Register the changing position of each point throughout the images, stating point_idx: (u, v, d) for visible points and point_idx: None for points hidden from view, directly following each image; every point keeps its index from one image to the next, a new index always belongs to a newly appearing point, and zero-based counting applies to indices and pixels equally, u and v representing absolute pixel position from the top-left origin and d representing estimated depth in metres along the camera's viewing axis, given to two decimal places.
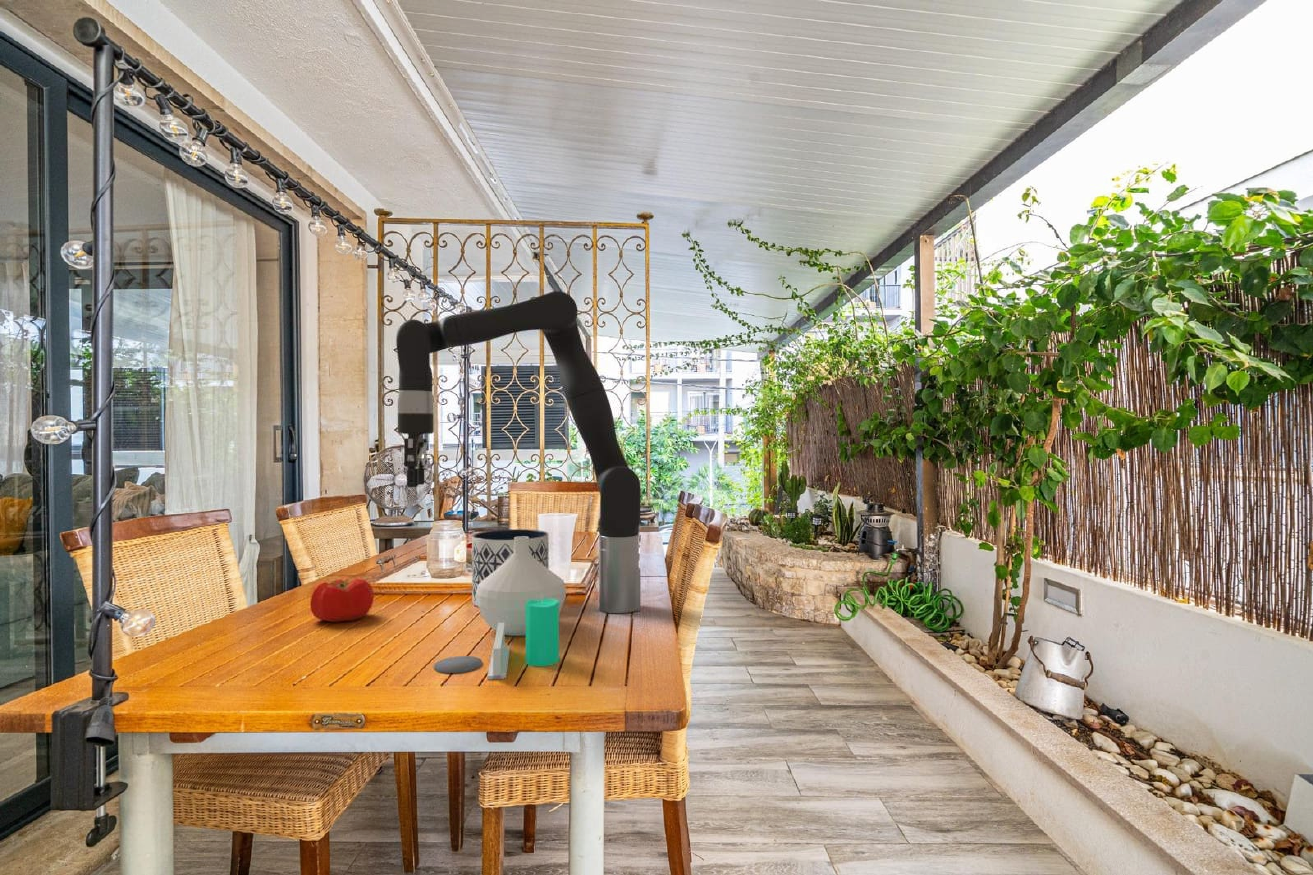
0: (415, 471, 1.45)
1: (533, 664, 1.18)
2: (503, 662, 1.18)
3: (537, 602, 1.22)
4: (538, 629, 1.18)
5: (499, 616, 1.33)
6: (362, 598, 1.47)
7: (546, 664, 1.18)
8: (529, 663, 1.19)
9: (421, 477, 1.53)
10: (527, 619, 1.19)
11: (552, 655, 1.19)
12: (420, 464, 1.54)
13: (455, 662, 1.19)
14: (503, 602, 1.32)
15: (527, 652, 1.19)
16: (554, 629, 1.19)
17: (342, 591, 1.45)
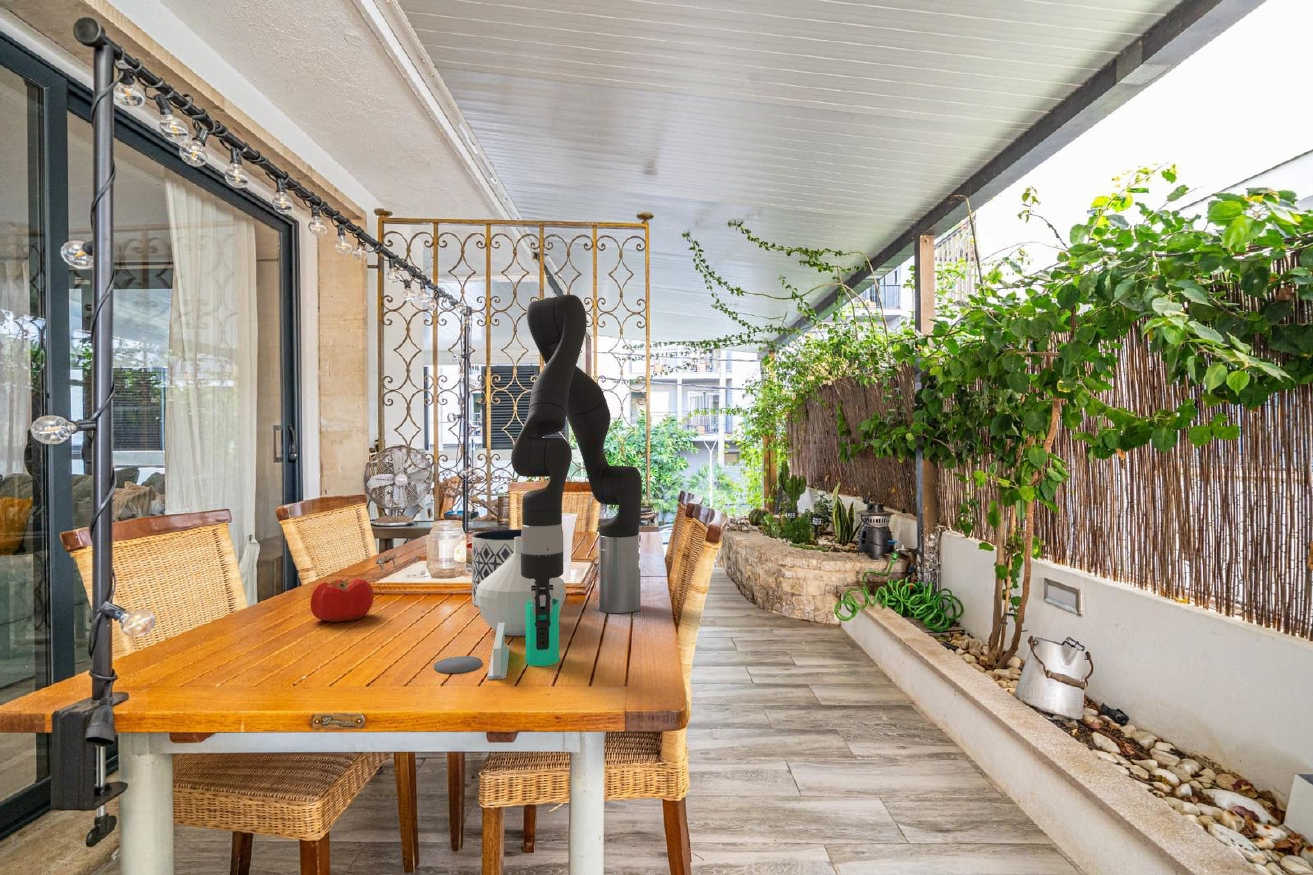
0: (546, 630, 1.18)
1: (533, 664, 1.18)
2: (503, 662, 1.18)
3: None
4: None
5: (499, 616, 1.33)
6: (362, 598, 1.47)
7: (546, 664, 1.18)
8: (529, 663, 1.19)
9: None
10: (527, 619, 1.19)
11: (552, 655, 1.19)
12: None
13: (455, 662, 1.19)
14: (503, 602, 1.32)
15: (527, 652, 1.19)
16: (554, 629, 1.19)
17: (342, 591, 1.45)
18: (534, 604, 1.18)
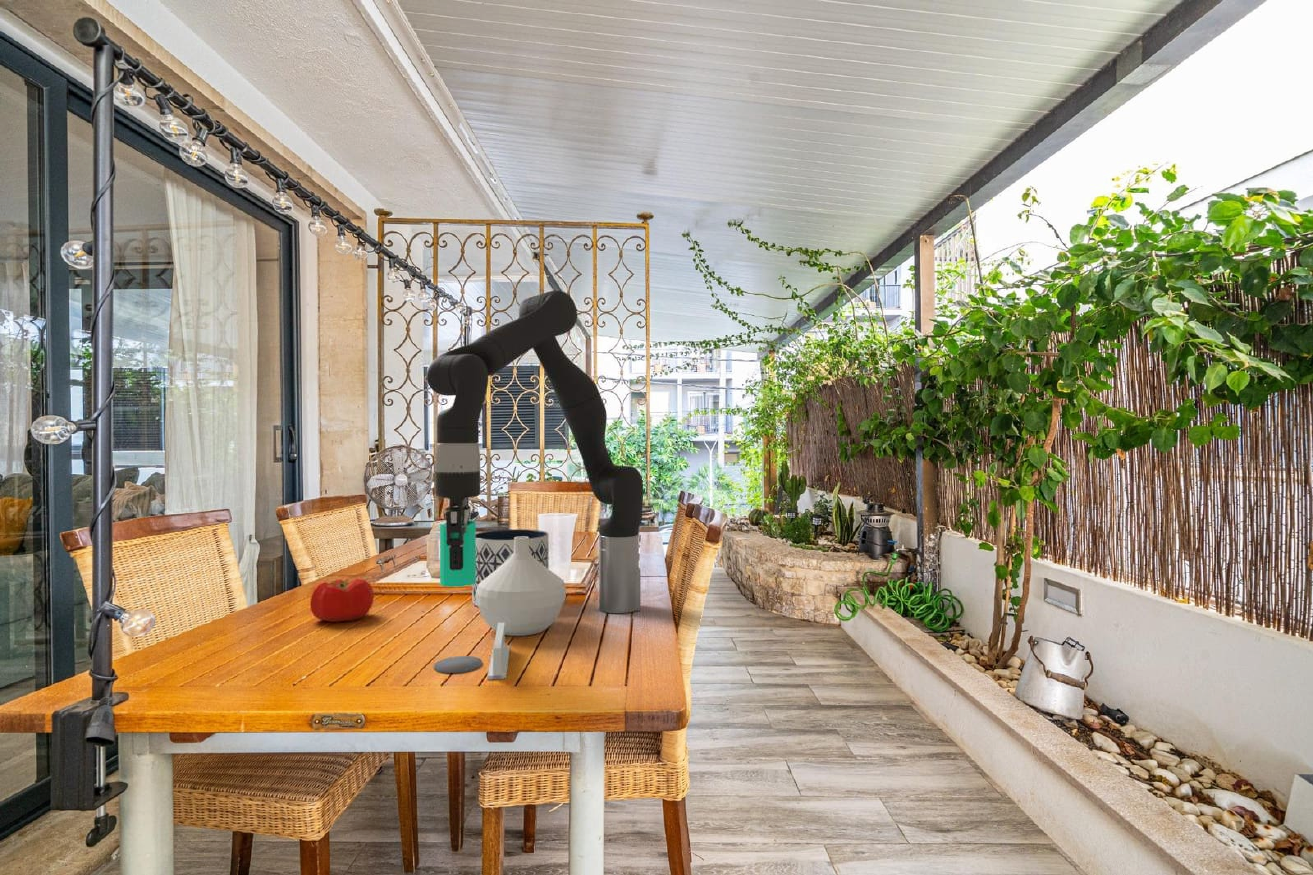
0: (460, 550, 1.15)
1: (446, 585, 1.15)
2: (503, 662, 1.18)
3: None
4: None
5: (499, 616, 1.33)
6: (362, 598, 1.47)
7: (460, 585, 1.15)
8: (443, 584, 1.16)
9: None
10: (441, 539, 1.16)
11: (467, 576, 1.16)
12: None
13: (455, 662, 1.19)
14: (503, 602, 1.32)
15: (441, 573, 1.16)
16: (469, 550, 1.16)
17: (342, 591, 1.45)
18: None
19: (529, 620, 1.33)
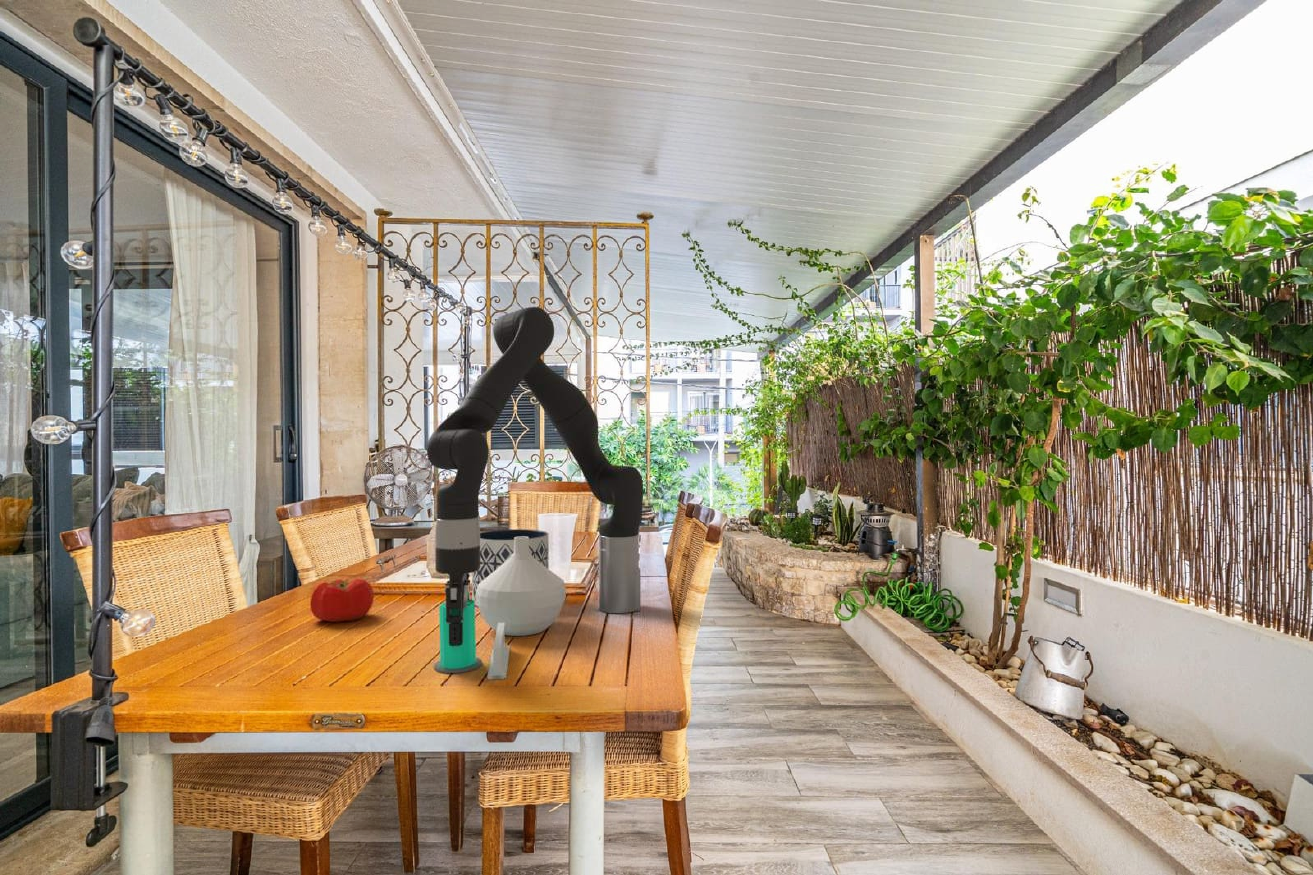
0: (459, 626, 1.14)
1: (447, 667, 1.15)
2: (503, 662, 1.18)
3: None
4: None
5: (499, 616, 1.33)
6: (362, 598, 1.47)
7: (460, 666, 1.15)
8: (443, 666, 1.16)
9: None
10: (441, 621, 1.16)
11: (467, 657, 1.16)
12: None
13: None
14: (503, 602, 1.32)
15: (441, 655, 1.16)
16: (469, 630, 1.16)
17: (342, 591, 1.45)
18: None
19: (529, 620, 1.33)
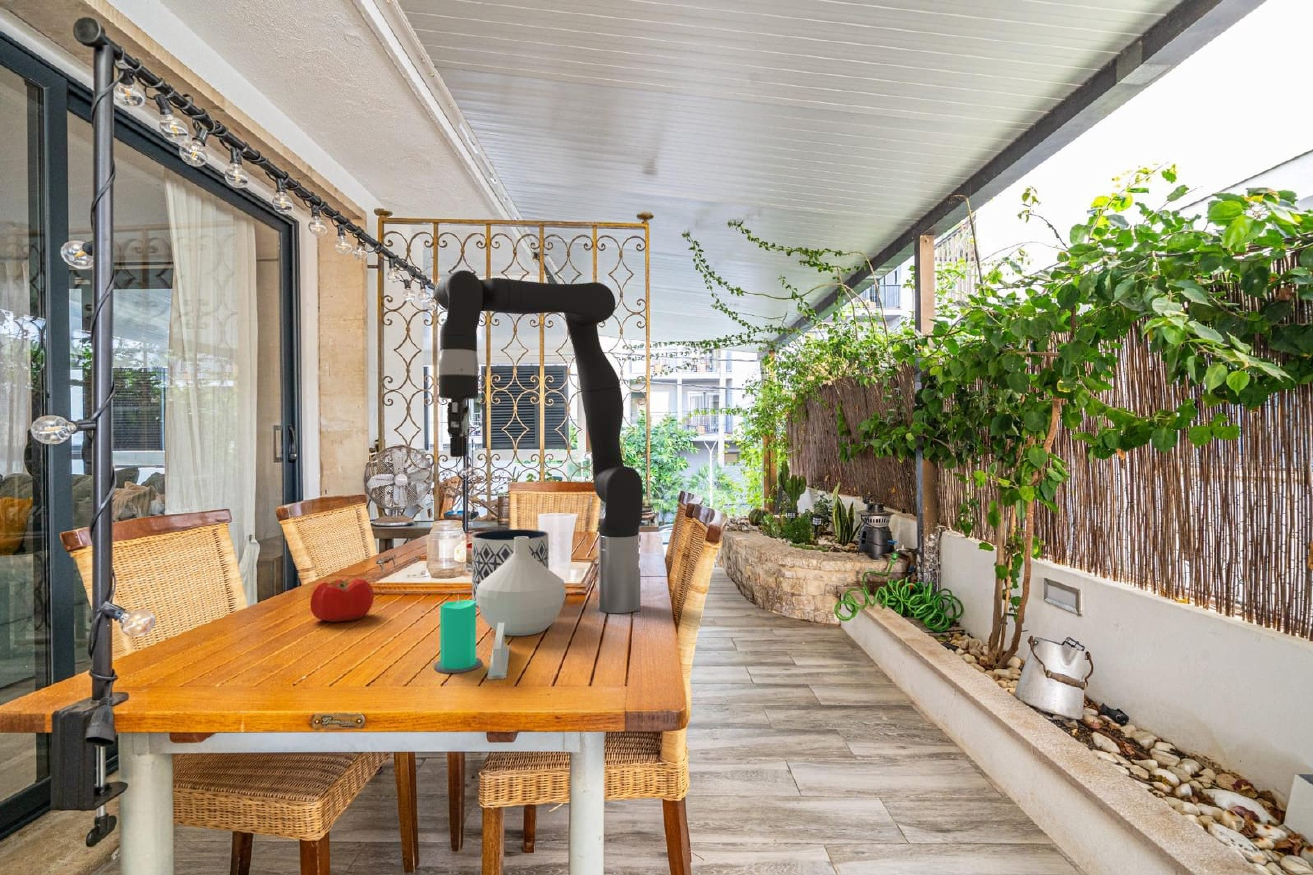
0: (459, 439, 1.29)
1: (447, 667, 1.15)
2: (503, 662, 1.18)
3: (454, 604, 1.20)
4: (452, 631, 1.15)
5: (499, 616, 1.33)
6: (362, 598, 1.47)
7: (460, 667, 1.15)
8: (443, 666, 1.16)
9: (463, 448, 1.38)
10: (441, 621, 1.16)
11: (467, 658, 1.16)
12: None
13: None
14: (503, 602, 1.32)
15: (441, 655, 1.16)
16: (470, 631, 1.16)
17: (342, 591, 1.45)
18: None
19: (529, 620, 1.33)
